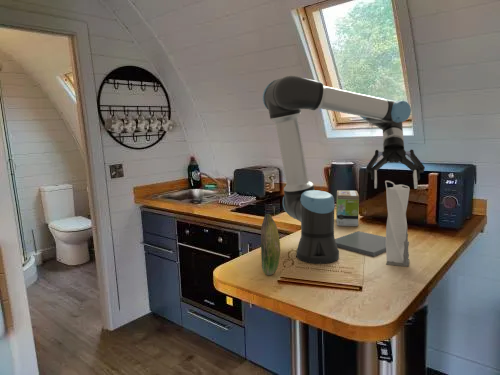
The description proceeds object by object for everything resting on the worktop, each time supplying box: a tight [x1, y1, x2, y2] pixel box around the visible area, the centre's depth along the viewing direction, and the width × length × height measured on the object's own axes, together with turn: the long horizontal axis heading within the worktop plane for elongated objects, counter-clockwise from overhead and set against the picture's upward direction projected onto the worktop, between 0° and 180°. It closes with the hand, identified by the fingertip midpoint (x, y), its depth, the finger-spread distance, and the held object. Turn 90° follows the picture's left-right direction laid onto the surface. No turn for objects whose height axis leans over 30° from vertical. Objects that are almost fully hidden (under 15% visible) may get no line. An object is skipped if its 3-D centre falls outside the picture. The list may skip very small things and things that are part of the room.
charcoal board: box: [335, 230, 386, 257], centre depth 152 cm, size 20×20×2 cm
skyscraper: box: [384, 180, 410, 268], centre depth 130 cm, size 8×8×28 cm
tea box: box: [335, 190, 360, 227], centre depth 185 cm, size 15×10×15 cm, turn 168°
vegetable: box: [260, 213, 281, 276], centre depth 122 cm, size 6×6×20 cm
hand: (395, 186), depth 138 cm, fingers open, 13 cm apart
